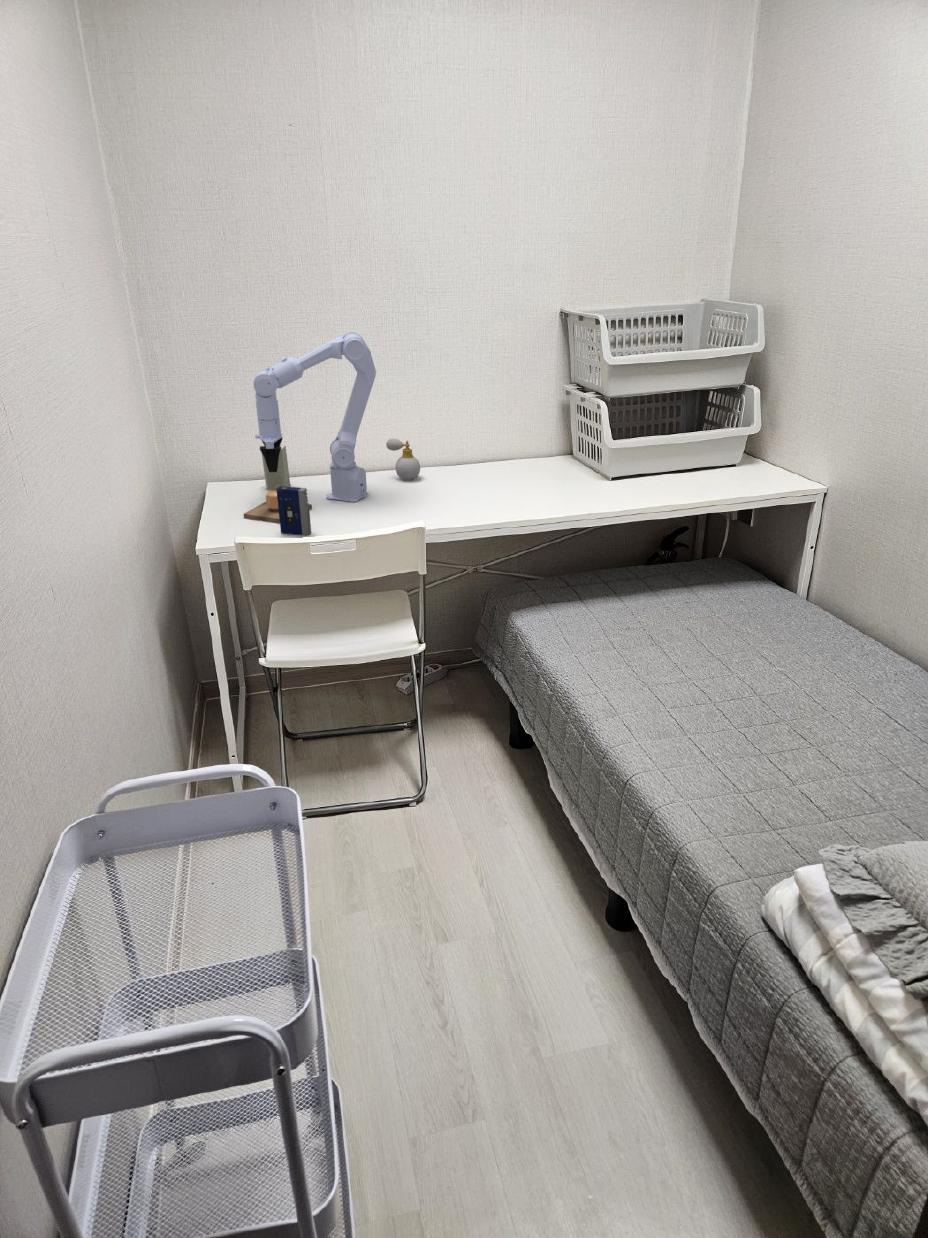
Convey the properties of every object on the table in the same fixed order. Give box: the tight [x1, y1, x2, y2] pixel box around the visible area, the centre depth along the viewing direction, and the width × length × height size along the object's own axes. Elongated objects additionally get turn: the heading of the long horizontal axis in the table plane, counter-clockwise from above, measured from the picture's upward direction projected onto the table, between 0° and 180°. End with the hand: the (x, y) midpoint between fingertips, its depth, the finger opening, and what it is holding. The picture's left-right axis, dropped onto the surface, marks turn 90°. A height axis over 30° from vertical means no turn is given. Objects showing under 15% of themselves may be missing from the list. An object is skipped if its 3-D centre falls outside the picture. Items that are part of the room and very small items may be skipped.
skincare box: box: [261, 444, 291, 491], centre depth 239 cm, size 6×4×12 cm
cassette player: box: [276, 486, 312, 536], centre depth 206 cm, size 7×2×12 cm, turn 78°
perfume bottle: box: [385, 438, 421, 481], centre depth 247 cm, size 8×10×12 cm
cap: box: [265, 490, 278, 509], centre depth 220 cm, size 5×5×4 cm
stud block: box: [243, 501, 313, 524], centre depth 221 cm, size 13×13×5 cm
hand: (273, 467), depth 227 cm, fingers open, 7 cm apart
